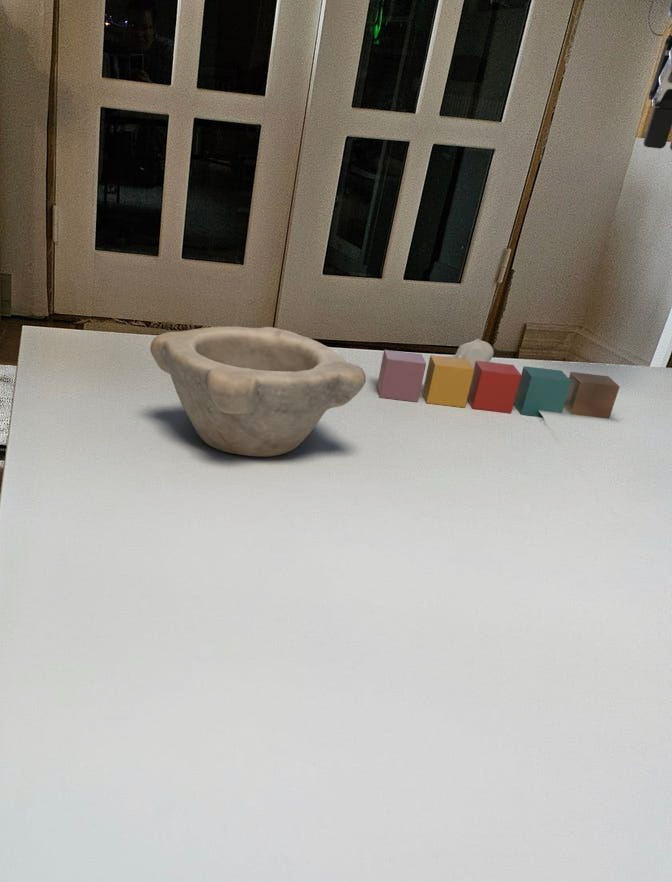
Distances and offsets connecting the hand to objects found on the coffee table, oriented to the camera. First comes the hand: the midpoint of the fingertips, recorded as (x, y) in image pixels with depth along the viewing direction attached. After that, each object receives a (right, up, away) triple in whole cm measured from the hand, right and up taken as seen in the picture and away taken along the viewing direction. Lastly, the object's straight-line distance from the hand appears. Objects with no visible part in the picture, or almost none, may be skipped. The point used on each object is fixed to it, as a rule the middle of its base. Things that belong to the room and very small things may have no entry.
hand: (666, 149), depth 99 cm
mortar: (-45, -33, -7) cm, 56 cm away
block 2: (-20, -23, +12) cm, 33 cm away
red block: (-15, -24, +12) cm, 31 cm away
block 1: (-26, -23, +13) cm, 36 cm away
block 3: (-9, -25, +12) cm, 29 cm away
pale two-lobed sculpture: (-13, -16, +26) cm, 33 cm away
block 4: (-4, -25, +12) cm, 28 cm away
